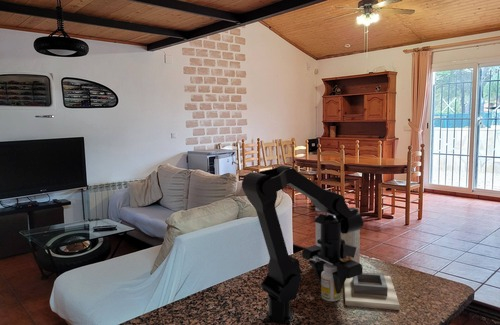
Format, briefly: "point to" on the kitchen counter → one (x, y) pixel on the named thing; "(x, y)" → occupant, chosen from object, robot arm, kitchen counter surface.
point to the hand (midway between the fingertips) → (330, 288)
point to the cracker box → (342, 237)
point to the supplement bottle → (328, 283)
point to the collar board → (371, 291)
